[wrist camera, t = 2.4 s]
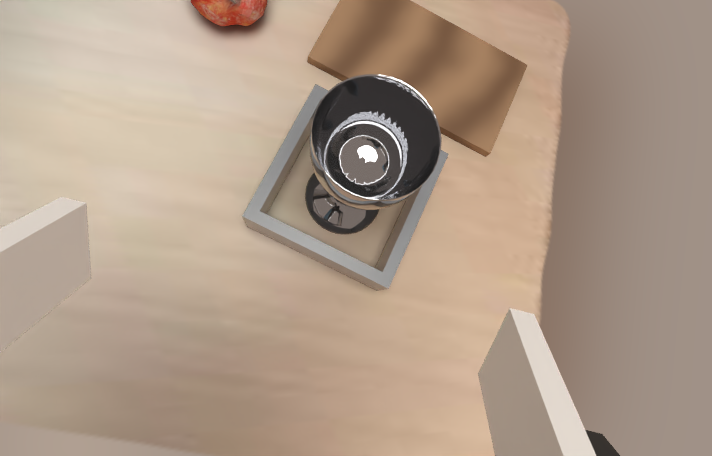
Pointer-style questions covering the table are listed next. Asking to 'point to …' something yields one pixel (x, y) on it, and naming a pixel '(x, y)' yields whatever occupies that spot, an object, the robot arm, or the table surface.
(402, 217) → the square frame
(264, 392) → the table surface
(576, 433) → the robot arm
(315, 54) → the board
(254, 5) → the pomegranate
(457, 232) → the table surface
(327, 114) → the wine glass
